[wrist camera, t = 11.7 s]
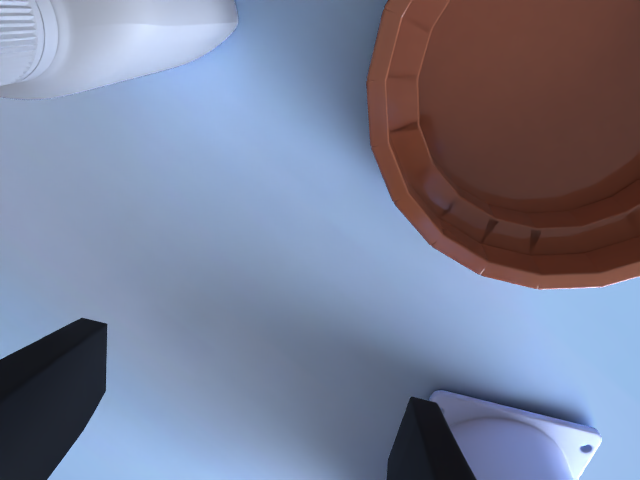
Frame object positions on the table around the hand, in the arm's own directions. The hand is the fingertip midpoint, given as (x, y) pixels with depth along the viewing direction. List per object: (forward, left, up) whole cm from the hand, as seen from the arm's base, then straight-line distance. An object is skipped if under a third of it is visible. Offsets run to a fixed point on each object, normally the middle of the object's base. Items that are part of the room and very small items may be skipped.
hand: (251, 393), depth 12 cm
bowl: (+7, -7, -10) cm, 15 cm away
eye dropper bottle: (+7, +7, -10) cm, 14 cm away
